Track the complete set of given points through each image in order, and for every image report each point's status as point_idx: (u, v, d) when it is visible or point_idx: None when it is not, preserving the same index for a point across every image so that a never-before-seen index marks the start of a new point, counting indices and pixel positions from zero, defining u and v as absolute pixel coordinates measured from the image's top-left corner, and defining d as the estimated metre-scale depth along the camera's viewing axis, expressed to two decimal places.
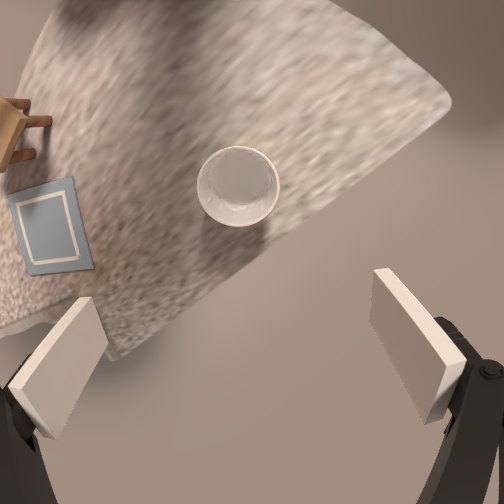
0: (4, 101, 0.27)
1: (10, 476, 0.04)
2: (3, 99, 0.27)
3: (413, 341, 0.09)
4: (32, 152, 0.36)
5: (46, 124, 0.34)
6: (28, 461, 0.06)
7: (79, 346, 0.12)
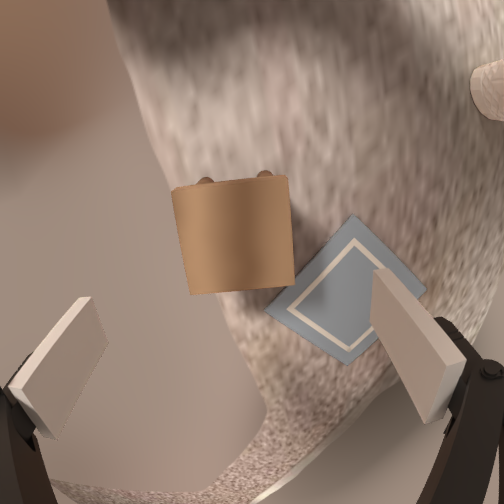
0: (215, 183, 0.22)
1: (10, 476, 0.04)
2: (206, 184, 0.22)
3: (413, 341, 0.09)
4: None
5: None
6: (28, 461, 0.06)
7: (79, 346, 0.12)
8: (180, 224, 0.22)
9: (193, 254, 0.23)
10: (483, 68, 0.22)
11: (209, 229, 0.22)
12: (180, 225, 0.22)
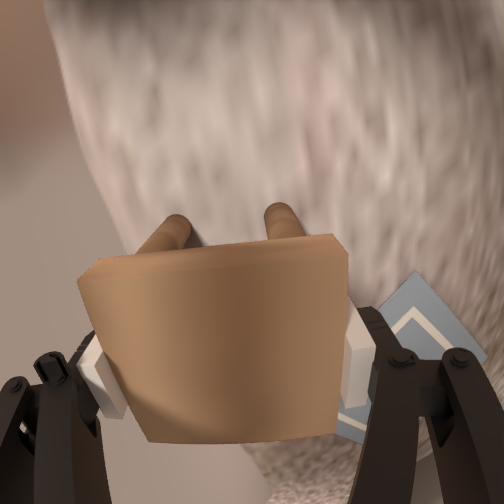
0: (173, 258, 0.09)
1: (65, 467, 0.05)
2: (155, 257, 0.10)
3: None
4: None
5: None
6: (87, 449, 0.07)
7: None
8: (107, 344, 0.09)
9: (142, 394, 0.10)
10: None
11: (166, 357, 0.10)
12: (107, 346, 0.09)
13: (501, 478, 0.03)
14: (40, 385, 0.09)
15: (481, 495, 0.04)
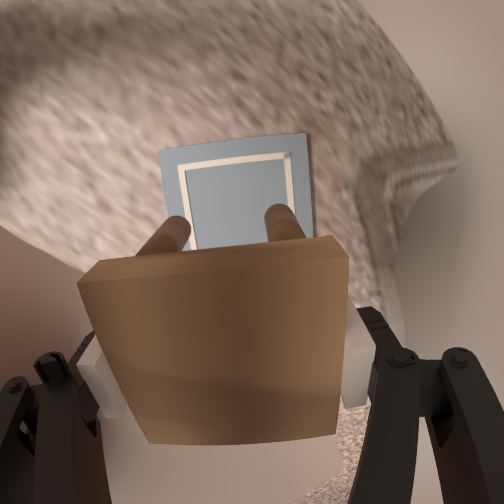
0: (173, 260, 0.09)
1: (65, 467, 0.05)
2: (155, 259, 0.10)
3: None
4: None
5: None
6: (87, 449, 0.07)
7: None
8: (107, 346, 0.09)
9: (142, 395, 0.10)
10: None
11: (166, 359, 0.10)
12: (107, 347, 0.09)
13: (501, 478, 0.03)
14: (40, 385, 0.09)
15: (481, 495, 0.04)
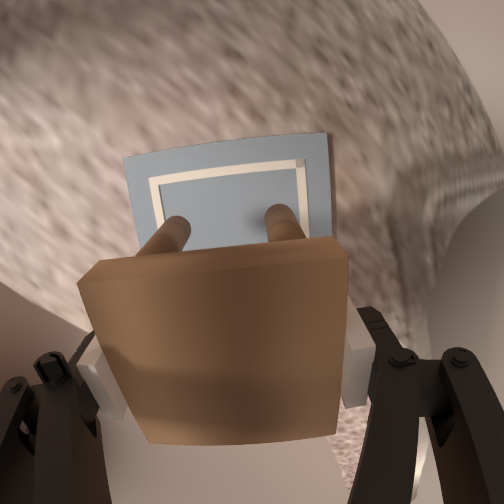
0: (173, 261, 0.09)
1: (66, 466, 0.05)
2: (155, 259, 0.10)
3: None
4: None
5: None
6: (87, 449, 0.07)
7: None
8: (107, 346, 0.09)
9: (142, 395, 0.10)
10: None
11: (166, 359, 0.10)
12: (107, 348, 0.09)
13: (501, 478, 0.03)
14: (40, 385, 0.09)
15: (481, 495, 0.04)
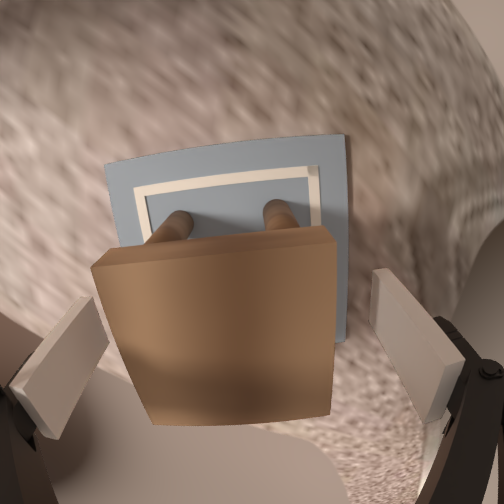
0: (179, 247, 0.10)
1: (11, 476, 0.04)
2: (163, 246, 0.11)
3: (412, 341, 0.09)
4: None
5: None
6: (29, 461, 0.06)
7: (80, 346, 0.12)
8: (117, 327, 0.10)
9: (148, 375, 0.11)
10: None
11: (172, 339, 0.11)
12: (117, 329, 0.10)
13: None
14: None
15: None
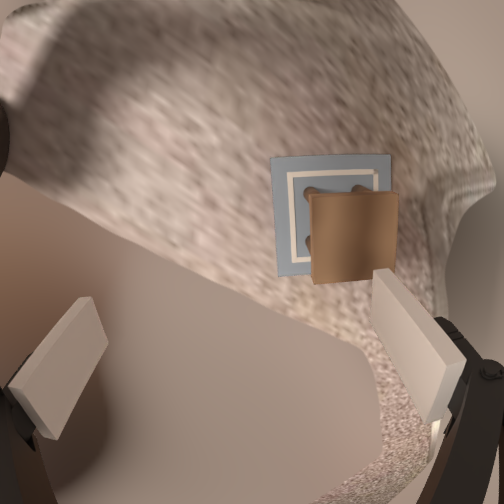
0: (343, 193, 0.27)
1: (11, 476, 0.04)
2: (335, 193, 0.27)
3: (413, 341, 0.09)
4: None
5: None
6: (28, 461, 0.06)
7: (79, 346, 0.12)
8: (316, 225, 0.27)
9: (323, 250, 0.28)
10: None
11: (338, 230, 0.27)
12: (316, 225, 0.27)
13: None
14: None
15: None
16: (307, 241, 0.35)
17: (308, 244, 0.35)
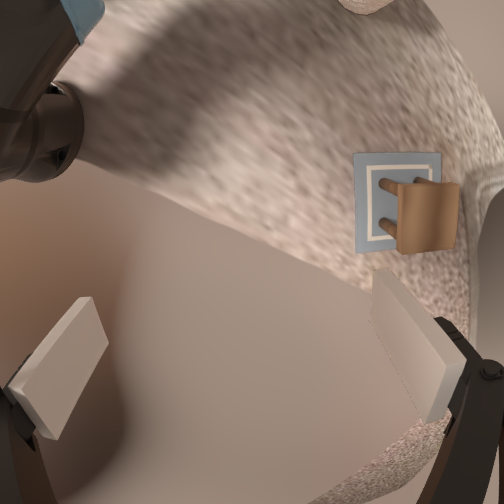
0: (422, 184, 0.32)
1: (10, 476, 0.04)
2: (416, 183, 0.32)
3: (413, 341, 0.09)
4: None
5: None
6: (28, 461, 0.06)
7: (79, 346, 0.12)
8: (406, 207, 0.32)
9: (410, 227, 0.33)
10: None
11: (421, 211, 0.32)
12: (406, 208, 0.32)
13: None
14: None
15: None
16: (382, 222, 0.41)
17: (384, 225, 0.40)
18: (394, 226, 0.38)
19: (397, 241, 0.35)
